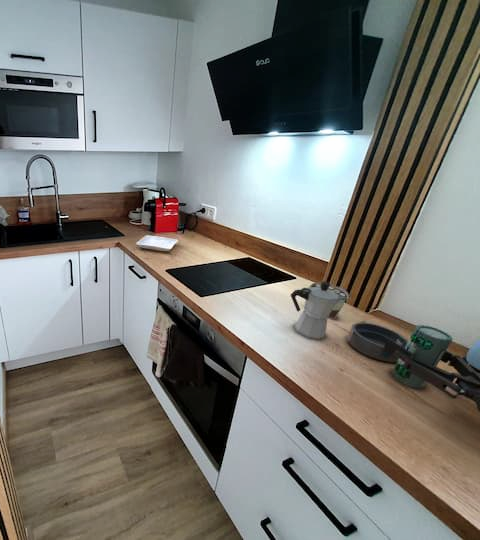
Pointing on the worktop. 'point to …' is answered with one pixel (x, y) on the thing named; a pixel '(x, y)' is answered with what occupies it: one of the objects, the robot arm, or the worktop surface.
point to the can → (422, 352)
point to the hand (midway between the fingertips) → (404, 342)
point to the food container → (340, 303)
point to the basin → (374, 340)
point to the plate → (157, 243)
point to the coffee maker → (315, 310)
